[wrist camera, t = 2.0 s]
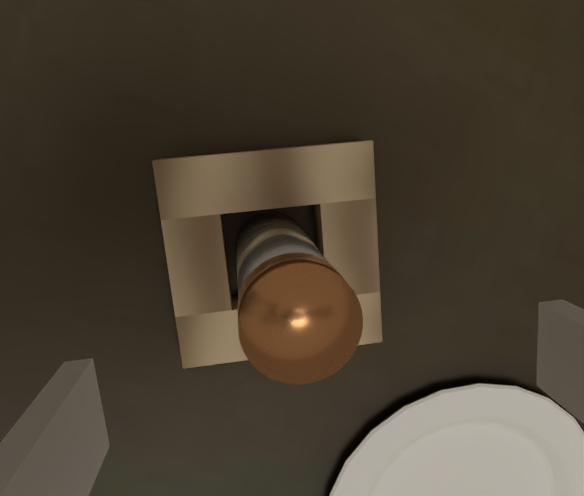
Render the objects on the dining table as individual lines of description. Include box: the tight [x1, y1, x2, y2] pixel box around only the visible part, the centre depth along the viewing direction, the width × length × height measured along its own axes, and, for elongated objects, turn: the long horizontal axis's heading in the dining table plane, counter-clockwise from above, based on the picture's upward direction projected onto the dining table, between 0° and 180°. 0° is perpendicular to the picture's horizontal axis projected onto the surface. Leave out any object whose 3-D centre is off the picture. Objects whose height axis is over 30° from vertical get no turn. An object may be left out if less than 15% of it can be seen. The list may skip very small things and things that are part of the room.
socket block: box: [152, 141, 382, 369], centre depth 29 cm, size 12×12×2 cm
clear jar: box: [236, 213, 363, 384], centre depth 23 cm, size 4×4×13 cm
